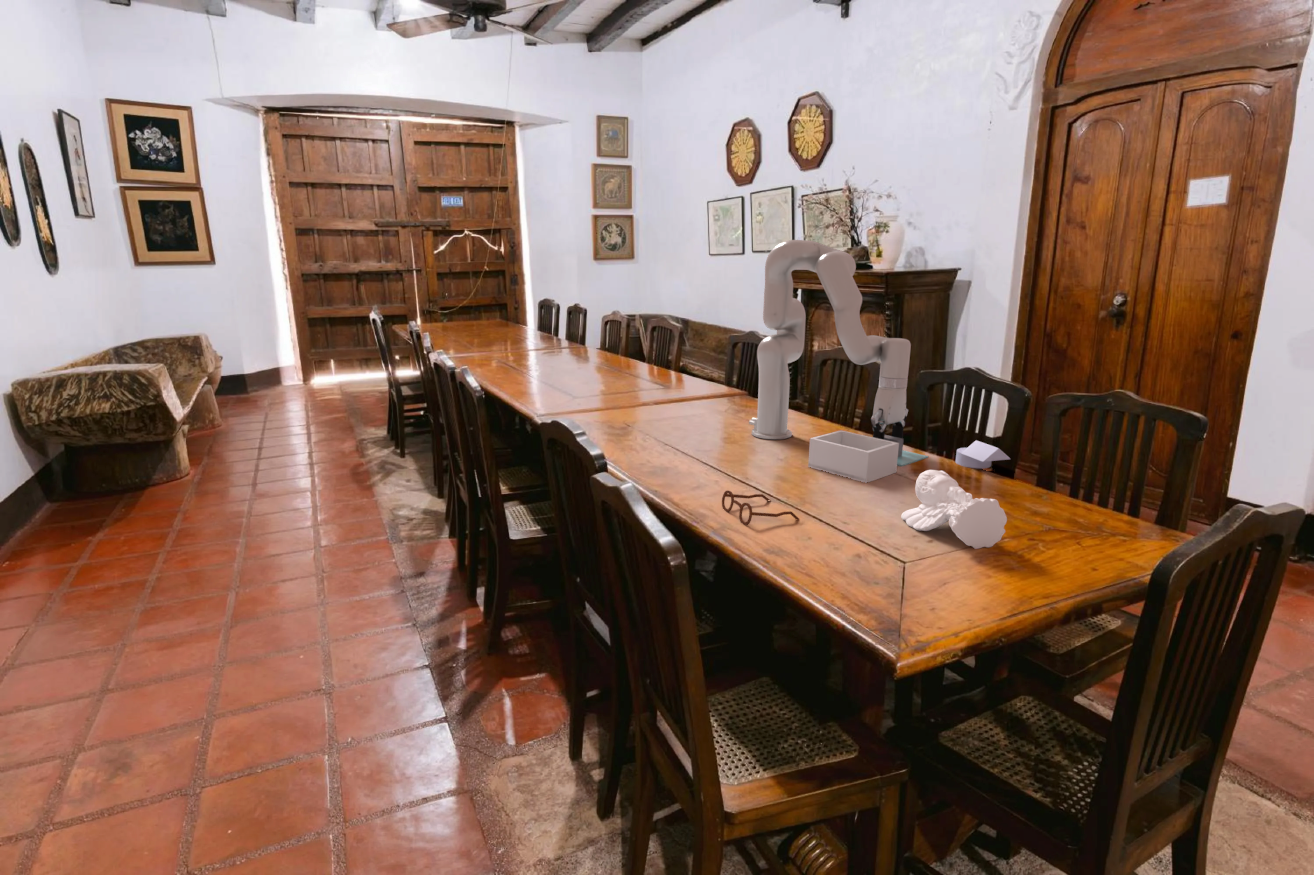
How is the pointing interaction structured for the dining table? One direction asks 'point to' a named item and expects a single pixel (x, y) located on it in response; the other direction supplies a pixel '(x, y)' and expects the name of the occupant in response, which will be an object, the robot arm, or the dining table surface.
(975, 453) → the wedge on round base
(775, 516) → the glasses
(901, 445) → the lid
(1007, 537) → the dining table surface
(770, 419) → the robot arm
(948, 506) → the cherub figurine
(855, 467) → the tub
